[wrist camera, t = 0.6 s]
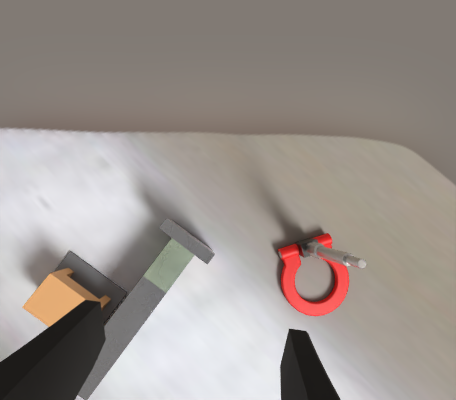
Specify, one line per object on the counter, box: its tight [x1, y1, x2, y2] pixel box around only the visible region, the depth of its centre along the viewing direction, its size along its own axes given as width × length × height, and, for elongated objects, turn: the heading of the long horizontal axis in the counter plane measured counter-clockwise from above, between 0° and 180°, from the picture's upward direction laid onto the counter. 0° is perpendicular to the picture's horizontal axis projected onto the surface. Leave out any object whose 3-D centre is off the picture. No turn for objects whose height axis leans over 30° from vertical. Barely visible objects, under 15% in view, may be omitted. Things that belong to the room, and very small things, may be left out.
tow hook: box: [278, 233, 367, 316], centre depth 29 cm, size 8×13×9 cm
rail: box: [78, 219, 215, 400], centre depth 30 cm, size 19×6×6 cm, turn 143°
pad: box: [54, 252, 127, 323], centre depth 32 cm, size 7×8×1 cm
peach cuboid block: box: [23, 268, 111, 327], centre depth 30 cm, size 4×6×4 cm, turn 53°
